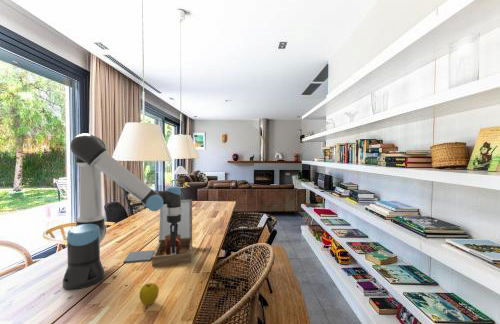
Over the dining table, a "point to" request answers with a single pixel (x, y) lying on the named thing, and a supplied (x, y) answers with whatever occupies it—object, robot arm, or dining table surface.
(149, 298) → the apple
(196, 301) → the dining table surface
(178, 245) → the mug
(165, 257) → the shallow wooden tray
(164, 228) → the lid
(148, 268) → the dining table surface
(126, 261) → the slate mat
